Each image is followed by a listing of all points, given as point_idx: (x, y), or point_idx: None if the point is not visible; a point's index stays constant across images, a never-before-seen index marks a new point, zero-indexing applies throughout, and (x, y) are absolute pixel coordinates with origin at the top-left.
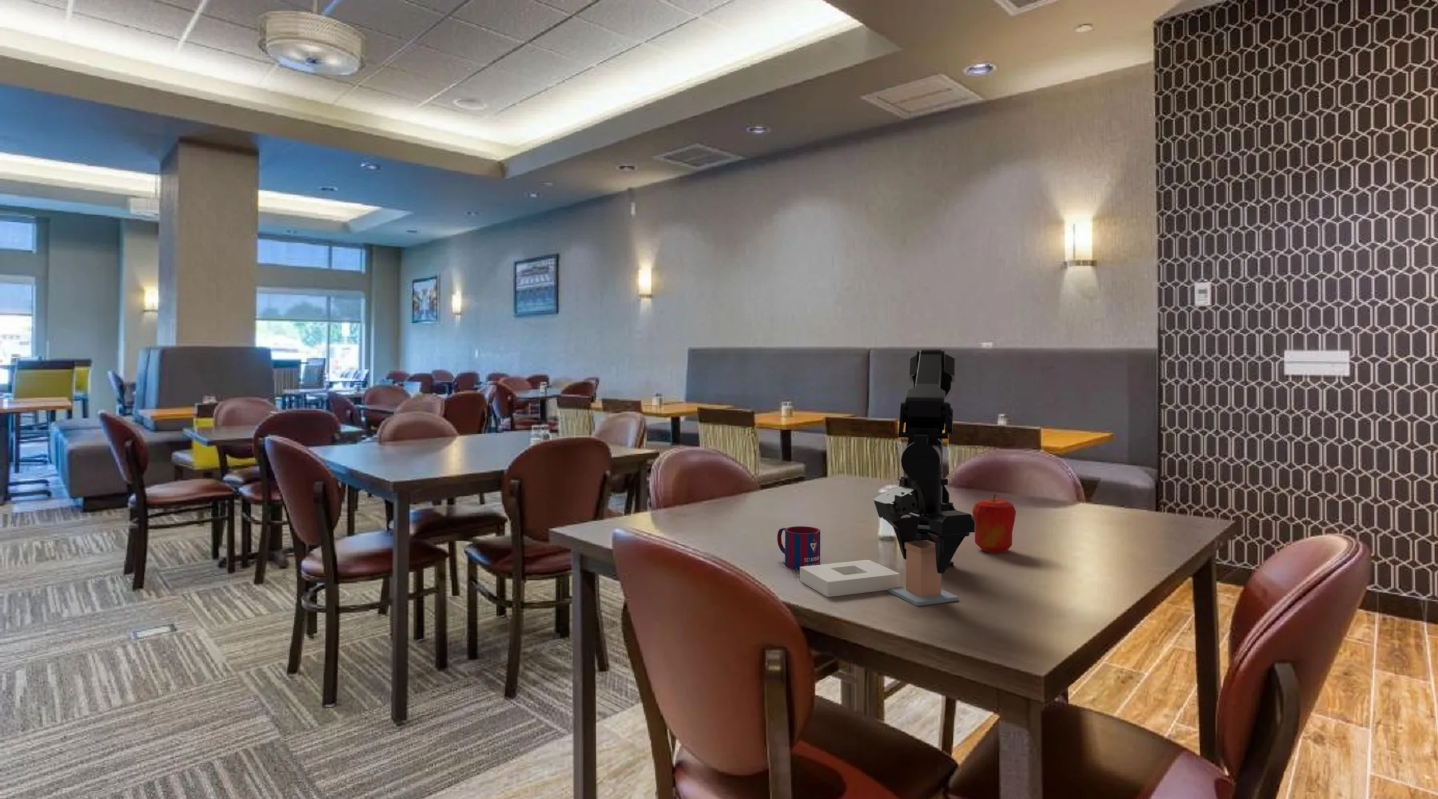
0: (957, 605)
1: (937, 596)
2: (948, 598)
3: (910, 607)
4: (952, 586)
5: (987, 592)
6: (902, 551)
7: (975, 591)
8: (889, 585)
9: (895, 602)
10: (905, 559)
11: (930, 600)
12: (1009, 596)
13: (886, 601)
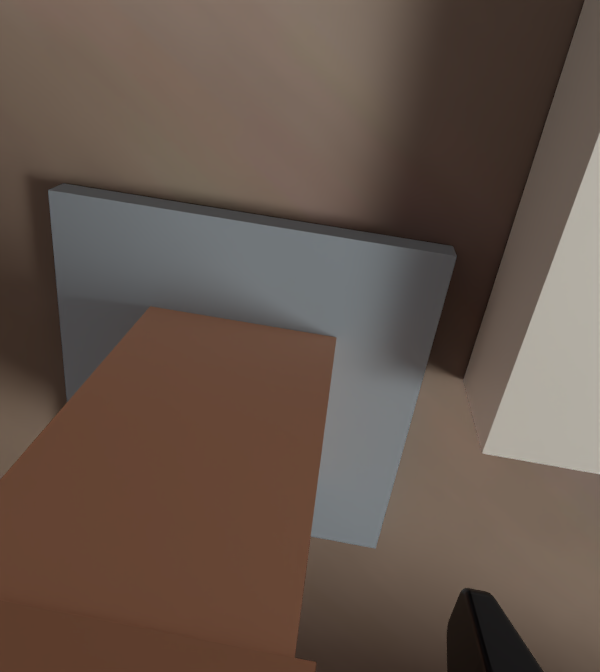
0: (12, 412)
1: None
2: None
3: (53, 114)
4: (311, 619)
5: None
6: (507, 665)
7: None
8: (497, 309)
9: (204, 94)
10: (463, 591)
11: (60, 307)
12: None
13: (259, 37)
